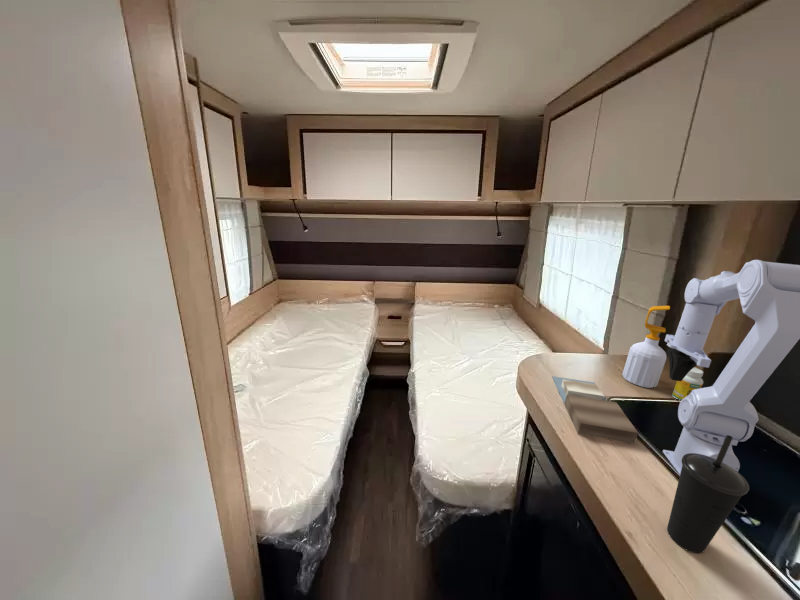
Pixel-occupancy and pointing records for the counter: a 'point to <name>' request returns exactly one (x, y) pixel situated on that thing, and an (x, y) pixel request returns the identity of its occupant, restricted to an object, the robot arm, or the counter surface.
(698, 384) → the supplement bottle
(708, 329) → the robot arm
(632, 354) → the soap bottle
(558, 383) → the mat
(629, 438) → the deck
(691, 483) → the drinking cup
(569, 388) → the tile
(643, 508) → the counter surface
